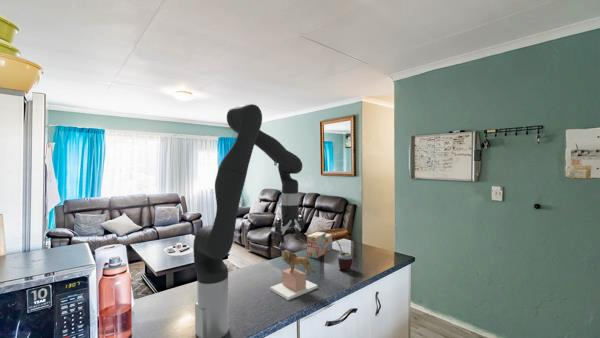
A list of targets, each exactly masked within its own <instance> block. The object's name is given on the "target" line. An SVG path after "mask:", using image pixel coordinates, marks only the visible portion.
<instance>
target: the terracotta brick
mask: <svg viewBox="0 0 600 338" xmlns="http://www.w3.org/2000/svg"><path fill="white" fill-rule="evenodd" d="M290 271H291V267H289V268H286V269H283V270H282V274H281V275H282V278H281V279H282V282H281V283H282V285H284V286H286V287H288V288H290V289H291V290H293V291H295V292H297V291H299V290H302V289H304V288H306V280H307V272H304V271H302V270H299V269H297V268H295V267H294V270H293V272H292V273H290Z"/></svg>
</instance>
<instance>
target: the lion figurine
mask: <svg viewBox="0 0 600 338" xmlns="http://www.w3.org/2000/svg"><path fill="white" fill-rule="evenodd" d="M308 258H309V257H307V256H304V257H303V256H301V257H300V256H297V255H296V253H294V252H292V251H291V250H288V249H285V250H283V251H282V254H281V260H282V261H284V262H285V263H286V265H289V268H291V271H290V273H292V272H293V270H294V268H295V266H299V267H300V266H302V267H303V268H304V271H303V273H306V276H311V272H312V274H316V271H314V270H313V269H312V265H311V261H310V260H309V259H308ZM308 266H309V267H308ZM307 272H308V273H307Z"/></svg>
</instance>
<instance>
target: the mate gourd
mask: <svg viewBox="0 0 600 338" xmlns="http://www.w3.org/2000/svg"><path fill="white" fill-rule="evenodd" d="M334 241H335V242H336V243H337V244H338V247H339V249H340V251H341V252H340V253H339V255H338V260H337V262H338V267H339V272H344V271H345V272H346V274H347V273H348V274H349V273H350V271H351V270H352V266H353V256H352V254H350V253H349V252H343V249H342V247H341V243H340V242H339V241H338V240H336V239H335V238H334Z"/></svg>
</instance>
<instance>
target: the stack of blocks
mask: <svg viewBox="0 0 600 338" xmlns="http://www.w3.org/2000/svg"><path fill="white" fill-rule="evenodd" d="M332 249H333V234H332V233H326V232H323V231H316V232H314V233H311V234H309V235H307V236H306V258H312V259H318V258H319V257H322V256H323V255H325V254H326V253H328V252H329V251H332Z"/></svg>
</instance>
